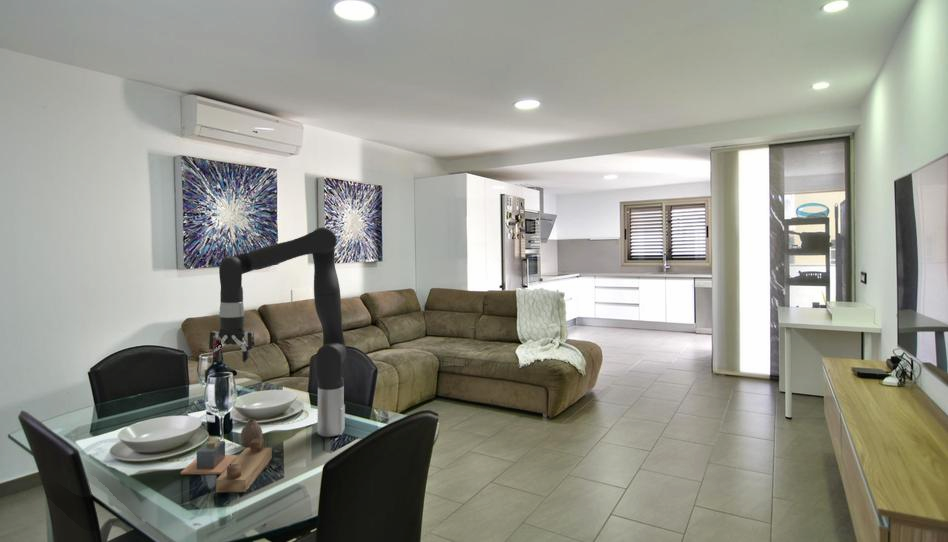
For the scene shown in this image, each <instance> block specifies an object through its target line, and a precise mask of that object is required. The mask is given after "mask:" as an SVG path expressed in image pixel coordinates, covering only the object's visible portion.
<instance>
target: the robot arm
mask: <svg viewBox="0 0 948 542" xmlns="http://www.w3.org/2000/svg"><path fill="white" fill-rule="evenodd" d="M337 242H338V241H337V235H336V233H335V232H334V231H333V230H332V229H331V228H328V227H326V226H325V227H321V226H320V227H318V228H316V229H314V230H313V231H312V232H309V233H306V234H305V235H302V236H301V237H297V238H295V239H292V240H291V239H290V240H287V241H283V242H279V243H274V244H271V245H265V246H263V247H260V248H256V249H253V250H250V251H248V252H244V253H240V254H235V255H231V256H228V257H225V258H223V259H222V260H221V262H220V263H219V265H218V269H219V270H218V271H219V283H220V296H219V297H220V306H219V313H218V314H219V331H216V330H213V331H211V332H209V343H208V344H209V345H208V349H210V350H213V351H215V352H214V353H215V355H214V356H215V357H214V358H215V359H214V360H215V361H216V362H217V363H220V362H222V359H223V358H222V357H223V355H222V354H223V352H222V353H221V350H222V348H223V347H224V346H226V345H233V346H234V345H237V346H238V347H240V348H241V350H242V363H246V362H247V361H248V360H249V358H250V357H249V355H250V354H249V353H250V350H252V349H254V348H255V333H254V331H253V330H251V331H245V306H244V290H243V286H242V285H243V284H242V281H243V279H242V278H243V275H244V274H246V273H247V274H248V273H249V272H253V271H258V270H262V269H265V268H270V267H273V266H275V265H278V264H281V263H284V262H287V261H289V260H293V259H296V258H299V257H303V256H305V255H306V256H307V255H312V258H313V266H314V267H313V269H314V270H313V272H314V273H313V297H314V299H313V300H314V308H315V311H316V314H317V318H318V319H319V322H320V325H321V329H322V339H323V340H322V346H321V347H319V349H318V350H317V351H316V355H315V378H316V382H317V435H319V436H321V437H328V438H329V437H335V436H342V435H343V433H344V431H345V428H346V424H345V423H346V415H345V414H346V404H345V403H344V399H345V397H344V396H345V395H344V394H345V388H344V387H345V379H344V376H342V363H344V361H345V360H346V357H347V348H346V342H345V337H344V331H343V317H342V316H343V315H342V303H341V302H342V300H341V297H342V296H341V289H340V283H339V277H338V274H337V270H336V264H335V261H336V260H335V252H336V251H335V247H336V245H337ZM218 337H219V339H220V341H221V344H222V348H220V347H221V345H219V346H218V348H217V347H216V349H215V347H214V349H213V342H214V340H216V341H217V338H218ZM244 337H245V338H246V339H247V342H246V341H245V339H244Z"/></svg>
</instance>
